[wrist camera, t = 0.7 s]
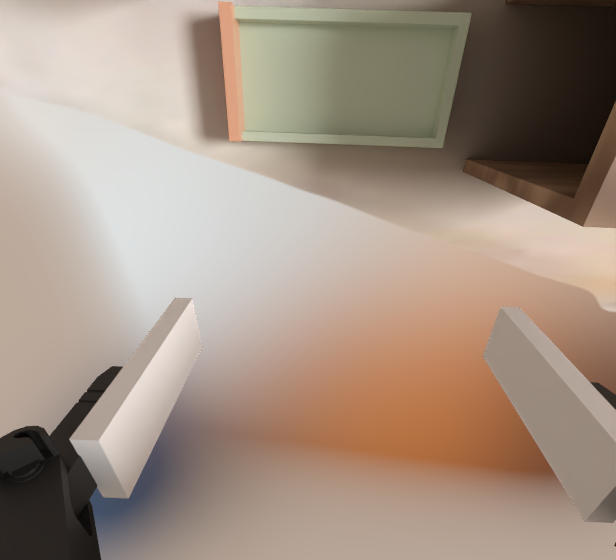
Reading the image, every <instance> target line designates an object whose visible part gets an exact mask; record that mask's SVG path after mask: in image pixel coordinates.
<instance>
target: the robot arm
mask: <svg viewBox="0 0 616 560" xmlns="http://www.w3.org/2000/svg"><path fill="white" fill-rule="evenodd" d="M201 349H202V342H201V338H200V333H199V328H198V323H197V318H196V313H195V309H194V304H193V299H192V298H175V299H174V300H173V301H172V303H171V304H170V305H169V307H168V308H167V309H166V311H165V312H164V313H163V315H162V316H161V317H160V319H159V320H158V321H157V323H156V324H155V325H154V327H153V328H152V329H151V331H150V332H149V333H148V335H147V336H146V337H145V339H144V340H143V341H142V343H141V344H140V345H139V347H138V348H137V349H136V351H135V352H134V353H133V355H132V356H131V357H130V359H129V360H128V362H127V363H126V364H125V366H124V367H117V366H116V367H115V366H112V367H111V368H109V369H108V370H107V371H105V372H104V373H102V374H101V375H100V376H98V377H97V378H96V380H95V381H94V382H93V383H92V385H91V386H90V387H89V388H88V389H87V392H85V393H84V394H83V396H82V397H81V398H80V399H79V402H78V403H76V404H75V405H74V407H73V408H72V409H71V410H70V412H69V413H68V414H67V415H66V417H65V418H64V419H63V420H62V421H61V423H60V424H59V425H58V426H57V428H56V429H55V430H54V431H53V432H52V434H51V435H50V436H49V435H48V434H47V432H46V431H45V429H44V428H41V427H39V426H26V427H24V428H20V429H17V430H14V431H12V432H10V433H9V434H7V435H5V436H3V437H2V438H0V560H101V556H100V550H99V544H98V538H97V532H96V527H95V520H94V514H93V509H92V505H91V502H90V501H89V499H90V497H91V496H92V494H93V492H94V490H95V489H96V487H97V488H98V489H99V491H100V492H101V494H102V496H103V497H112V498H129V496H130V494H131V492H132V490H133V488H134V486H135V484H136V482H137V480H138V478H139V475H140V473H141V472H142V469H143V467H144V465H145V463H146V461H147V459H148V457H149V455H150V453H151V451H152V449H153V447H154V445H155V443H156V441H157V439H158V437H159V435H160V433H161V431H162V428H163V426H164V425H165V422H166V420H167V418H168V416H169V414H170V412H171V410H172V408H173V406H174V404H175V402H176V400H177V398H178V396H179V394H180V392H181V390H182V388H183V386H184V384H185V382H186V380H187V378H188V375H189V373H190V371H191V369H192V367H193V365H194V363H195V361H196V359H197V357H198V355H199V353H200V351H201ZM483 357H484V359H485V361H486V362H487V364H488V366H489V367H490V369H491V370H492V372H493V374H494V375H495V377H496V378H497V380H498V382H499V383H500V385H501V387H502V388H503V390H504V392H505V393H506V394H507V396H508V398H509V400H510V401H511V403H512V404H513V406H514V408H515V409H516V411H517V413H518V414H519V416H520V417H521V419H522V421H523V422H524V424H525V426H526V427H527V428H528V430H529V432H530V434H531V435H532V437H533V439H534V440H535V442H536V443H537V445H538V446H539V448H540V450H541V451H542V453H543V455H544V456H545V458H546V460H547V461H548V463H549V464H550V466H551V468H552V469H553V471H554V472H555V474H556V476H557V477H558V479H559V481H560V482H561V484H562V485H563V487H564V489H565V490H566V492H567V494H568V495H569V497H570V498H571V500H572V502H573V503H574V505H575V506H576V508H577V510H578V511H579V513H580V515H581V516H582V518H583V520H584V521H586V522H607V523H613V522H614V521H615V520H616V395H615V394H614V393H612V392H611V391H609V390H608V389H606V388H605V387H603V386H602V385H600V384H599V383H592V382H589V381H588V380H587V379H586V378H585V377H584V376H583V375H582V374H581V372H580V371H579V370H578V369H577V368H576V367H575V366H574V365H573V364H572V363H571V362H570V361H569V360H568V359H567V358H566V356H565V355H564V354H563V353H562V352H561V351H560V350H559V349H558V348H557V347H556V346H555V345H554V344H553V343H552V342H551V341H550V339H549V338H548V337H547V336H546V335H545V334H544V333H543V332H542V331H541V330H540V329H539V328H538V327H537V326H536V325H535V323H534V322H533V321H532V320H531V319H530V318H529V317H528V316H527V315H526V314H525V313H524V312H523V311H522V310H521V309H520V308H519V307H501V308H500V310H499V313H498V316H497V318H496V321H495V324H494V327H493V329H492V332H491V335H490V338H489V340H488V343H487V346H486V349H485V351H484V354H483ZM615 546H616V543H615Z"/></svg>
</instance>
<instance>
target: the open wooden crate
mask: <svg viewBox="0 0 616 560" xmlns="http://www.w3.org/2000/svg"><path fill="white" fill-rule="evenodd" d="M506 3H510V4H545V5H581V6H616V0H506ZM463 172H466V173H468V174H470V175H472V176H474V177H476V178H479V179H481V180H483V181H485V182H487V183H489V184H492V185H494V186H496V187H498V188H500V189H502V190H505V191H507V192H509V193H511V194H513V195H515V196H518V197H520V198H522V199H524V200H526V201H528V202H531V203H533V204H535V205H537V206H539V207H541V208H544V209H546V210H548V211H550V212H552V213H554V214H557V215H559V216H561V217H563V218H565V219H568V220H570V221H572V222H574V223H576V224H578V225H581V226H583V227H604V228H616V102H615V104H614V106H613V109H612V111H611V113H610V116H609V118H608V120H607V122H606V125H605V127H604V129H603V132H602V134H601V136H600V139H599V141H598V143H597V146H596V148H595V150H594V153H593V155H592V157H591V160H590V162H589V164H577V163H551V162H525V161H499V160H473V159H466V162H465V166H464V170H463Z"/></svg>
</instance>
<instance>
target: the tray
mask: <svg viewBox="0 0 616 560" xmlns="http://www.w3.org/2000/svg"><path fill="white" fill-rule="evenodd" d="M218 5H219V17H220V30H221V42H222V55H223V68H224V80H225V93H226V105H227V118H228V130H229V141H238V142H240V141H267V142H293V143H319V144H346V145H372V146H399V147H425V148H443V144H444V140H445V135H446V131H447V126H448V121H449V117H450V112H451V107H452V103H453V98H454V94H455V89H456V84H457V80H458V75H459V71H460V66H461V61H462V57H463V52H464V48H465V43H466V38H467V34H468V29H469V24H470V20H471V15H472V13H466V12H431V11H397V10H363V9H328V8H294V7H260V6H234V5H233V4H232V3H231V2H218Z"/></svg>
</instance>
